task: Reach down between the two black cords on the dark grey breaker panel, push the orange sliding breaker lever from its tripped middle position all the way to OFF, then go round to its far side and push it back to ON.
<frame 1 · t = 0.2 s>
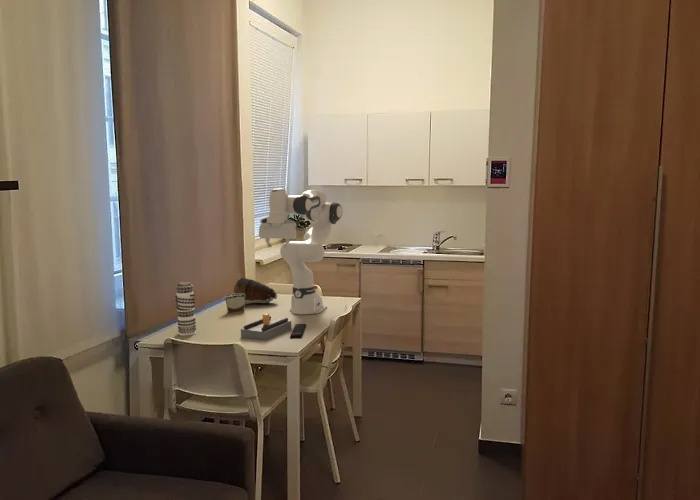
hand: (277, 247, 308), 39 cm above the table, tool pointing down, fingers open, 8 cm apart
remote control: (298, 333, 293), on the table
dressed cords: (266, 323, 291), on the breaker panel, point 4 cm above the table
breaker lever: (266, 319, 291), point 7 cm above the table, slide at 0.0 cm
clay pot: (257, 304, 359), on the table
decorative candle: (187, 333, 296), on the table
food container: (234, 312, 340), on the table
breaker panel: (266, 333, 292), on the table
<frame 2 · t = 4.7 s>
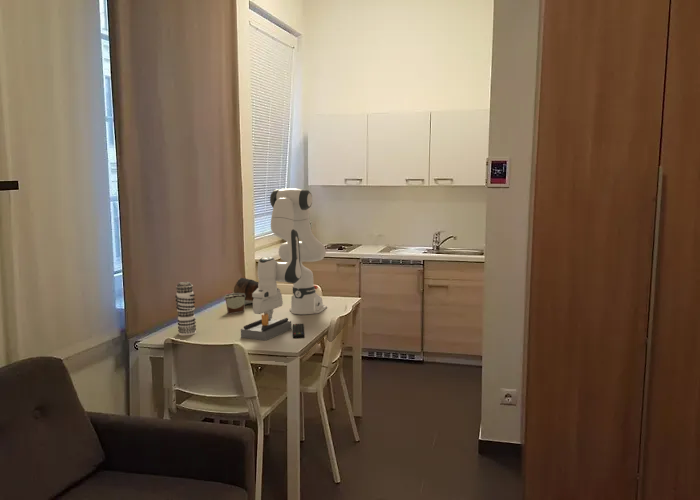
hand: (269, 319, 293), 6 cm above the table, tool pointing down, fingers closed
breaker lever: (265, 319, 290), point 7 cm above the table, slide at 1.0 cm, touching gripper
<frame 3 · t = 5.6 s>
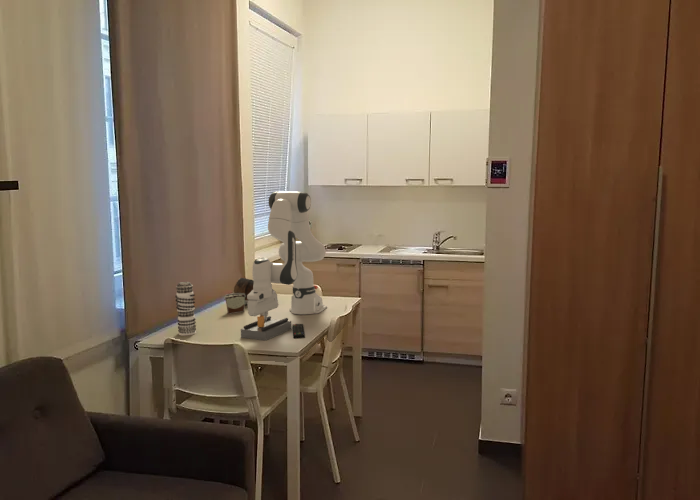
hand: (264, 321, 289), 6 cm above the table, tool pointing down, fingers closed
breaker lever: (260, 321, 287), point 7 cm above the table, slide at 4.4 cm, touching gripper
everything else where it was.
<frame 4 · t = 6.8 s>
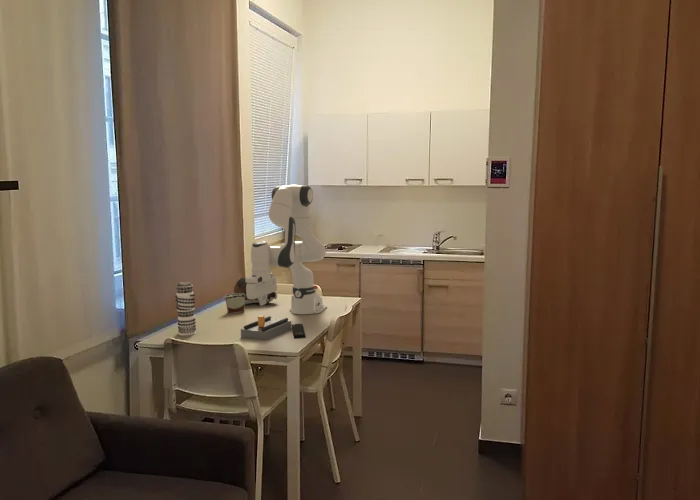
hand: (263, 304, 288), 14 cm above the table, tool pointing down, fingers closed
breaker lever: (261, 321, 287), point 7 cm above the table, slide at 4.1 cm
everything else where it was.
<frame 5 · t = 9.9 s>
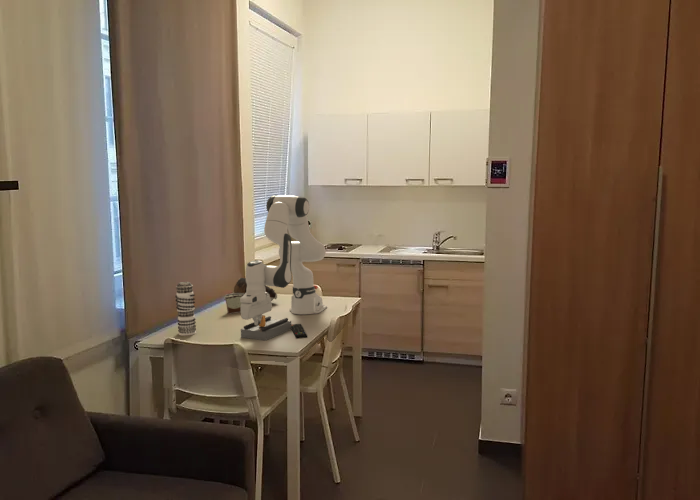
hand: (257, 324, 285), 6 cm above the table, tool pointing down, fingers closed
breaker lever: (262, 320, 288), point 7 cm above the table, slide at 3.4 cm, touching gripper
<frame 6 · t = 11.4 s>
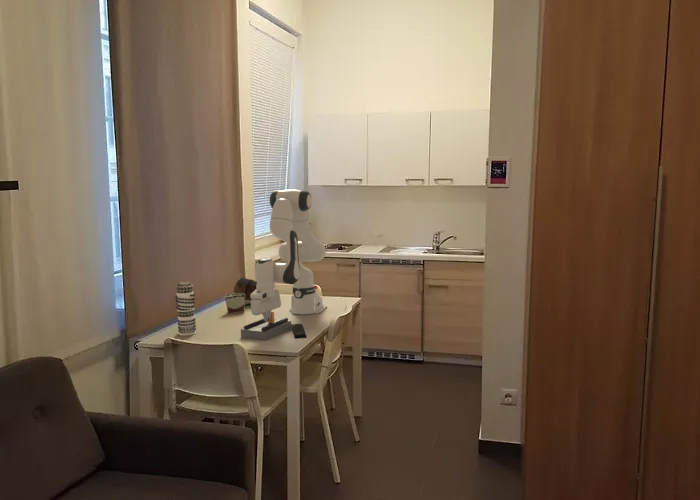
hand: (267, 320, 292), 6 cm above the table, tool pointing down, fingers closed
breaker lever: (271, 317, 294), point 7 cm above the table, slide at -4.1 cm, touching gripper
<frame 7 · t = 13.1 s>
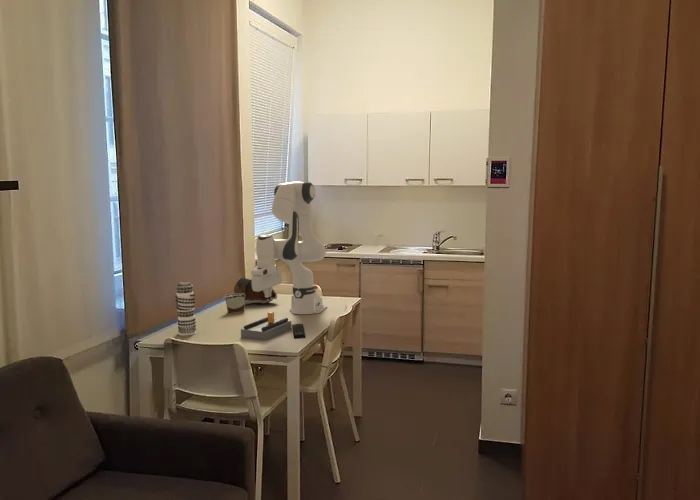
hand: (268, 296, 292), 17 cm above the table, tool pointing down, fingers closed
breaker lever: (270, 317, 294), point 7 cm above the table, slide at -4.1 cm
everything else where it was.
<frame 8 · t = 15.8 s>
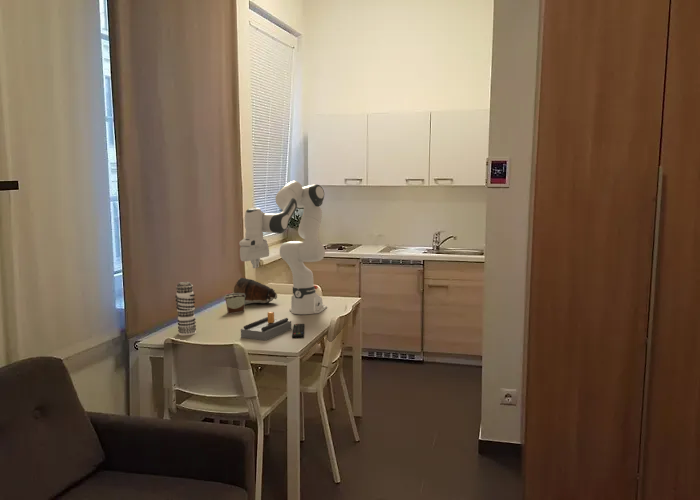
hand: (255, 267, 306), 29 cm above the table, tool pointing down, fingers closed
nothing on the table moved.
at the end: breaker lever slide at -4.1 cm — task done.
